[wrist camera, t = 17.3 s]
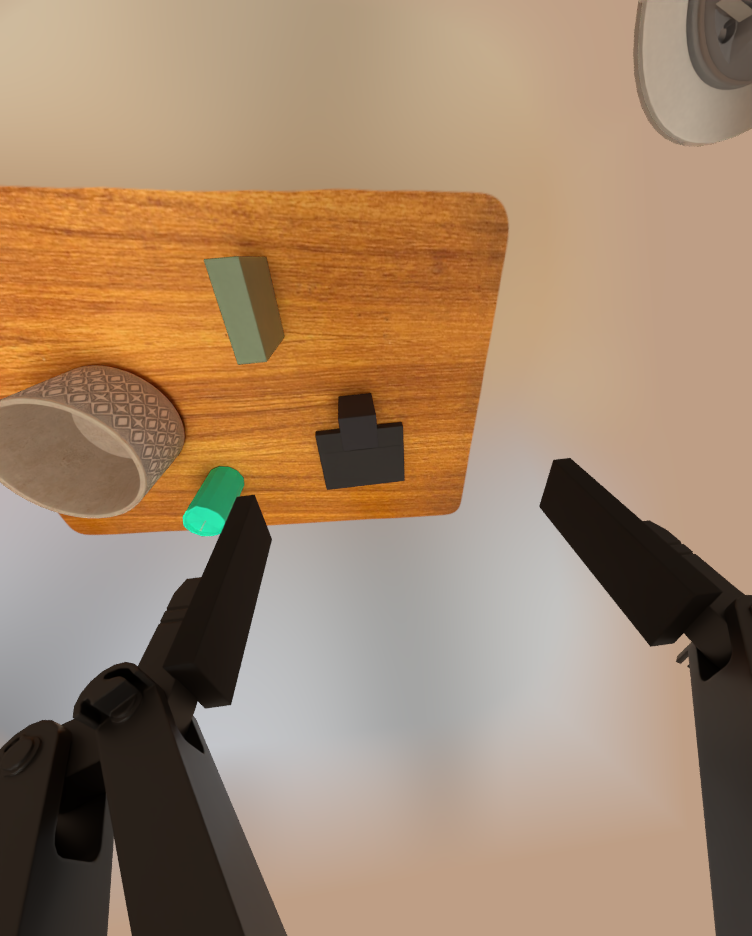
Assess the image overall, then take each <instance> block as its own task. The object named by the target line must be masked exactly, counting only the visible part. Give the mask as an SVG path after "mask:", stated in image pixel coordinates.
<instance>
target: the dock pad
mask: <svg viewBox="0 0 752 936" xmlns="http://www.w3.org/2000/svg"><path fill="white" fill-rule="evenodd" d="M377 433H378V445H379V447H376V448H367V449H358V450H350V451H343V446H342V440H341V434H340V429H334V430H325V431H316V435H315V436H316V441H317V446H318V451H319V455H320V460H321V465H322V469H323V474H324V479H325V483H326V488H327V490H330V489H338V488H347V487H355V486H364V485H372V484H381V483H389V482H398V481H404V445H403V425H402V422H397V423H388V424H379V425H377Z"/></svg>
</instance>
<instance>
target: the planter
mask: <svg viewBox="0 0 752 936" xmlns="http://www.w3.org/2000/svg"><path fill="white" fill-rule="evenodd" d="M184 438H185V435H184V427H183V424H182V421H181V418H180V416H179V414H178V412H177V411H176V409H175V408H174V406H173V405H172V403H171V402H170V401H169V400H168V399H167V398H166V397H165V396H164V395H163V394H162V393H161V392H160V391H159V390H158V389H157V388H155V387H154V386H153V385H151V384H150V383H148V382H147V381H145V380H143V379H142V378H140V377H138V376H136V375H134V374H131V373H129V372H127V371H124V370H120V369H117V368H113V367H108V366H97V365H93V366H83V367H79V368H75V369H73V370H70V371H68V372H66V373H63V374H61V375H58V376H56V377H54V378H51V379H49V380H46V381H44V382H42V383H39V384H37V385H34V386H32V387H30V388H27V389H25V390H22V391H20V392H18V393H15V394H13V395H10V396H8V397H6V398H3V399H1V400H0V482H1V483H2V484H3V485H4V486H5V487H7V488H8V489H10V490H11V491H13V492H14V493H15V494H17V495H19V496H21V497H22V498H24V499H26V500H28V501H30V502H32V503H34V504H36V505H38V506H40V507H43V508H46V509H48V510H51V511H54V512H58V513H61V514H65V515H70V516H75V517H83V518H106V517H112V516H117V515H120V514H123V513H125V512H127V511H129V510H131V509H132V508H134V507H135V506H136V505H137V504H138V503H139V502H140V501H141V500H142V499H143V497H144V496H145V495H146V494H147V492H148V491H149V490H150V489H151V488H152V486H153V485H154V484H155V483H156V482H157V480H158V479H159V478H160V477H161V476H162V474H163V473H164V472H165V471H166V469H167V468H168V467H169V466H170V465H171V463H172V462H173V461H174V460H175V459H176V457H177V456H178V455H179V453H180V452H181V450H182V447H183V445H184Z"/></svg>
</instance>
